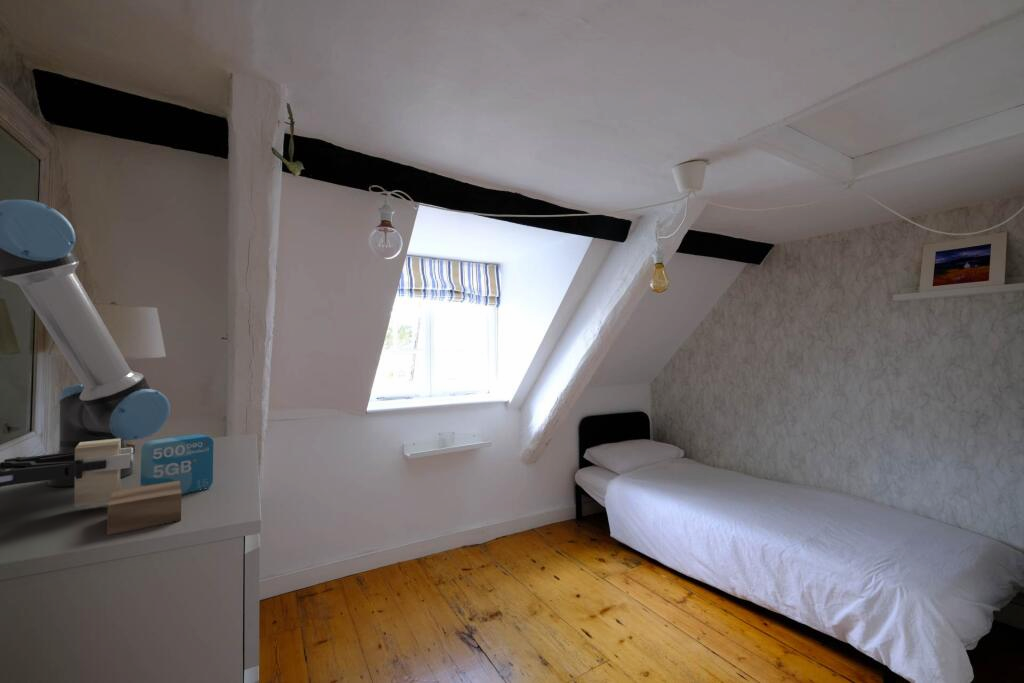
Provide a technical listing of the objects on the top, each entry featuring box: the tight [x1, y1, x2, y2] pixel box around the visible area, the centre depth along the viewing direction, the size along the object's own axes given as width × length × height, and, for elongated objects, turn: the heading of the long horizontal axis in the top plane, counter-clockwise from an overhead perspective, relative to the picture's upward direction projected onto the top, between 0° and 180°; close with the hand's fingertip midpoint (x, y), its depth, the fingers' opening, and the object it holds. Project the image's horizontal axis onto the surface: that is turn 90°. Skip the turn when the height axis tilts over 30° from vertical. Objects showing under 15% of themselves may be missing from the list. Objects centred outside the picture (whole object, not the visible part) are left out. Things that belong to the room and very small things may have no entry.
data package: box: [140, 433, 215, 495], centre depth 96 cm, size 12×4×12 cm, turn 144°
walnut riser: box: [106, 481, 182, 536], centre depth 81 cm, size 10×10×5 cm
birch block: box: [73, 438, 121, 508], centre depth 86 cm, size 6×6×11 cm
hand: (130, 457), depth 89 cm, fingers closed on birch block, 6 cm apart
